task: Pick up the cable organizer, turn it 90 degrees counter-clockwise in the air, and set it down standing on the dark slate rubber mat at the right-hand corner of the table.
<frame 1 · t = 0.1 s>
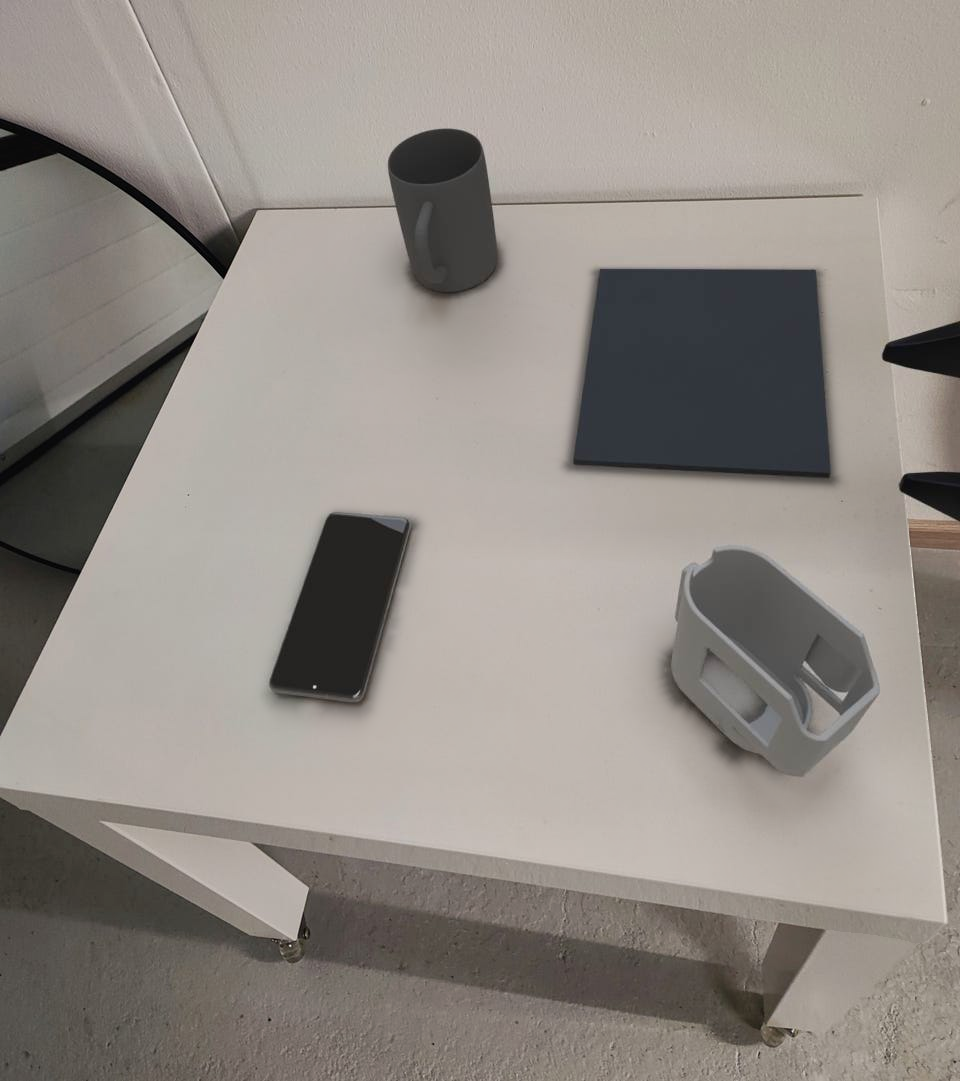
hand: (892, 413, 43), 19 cm above the table, tool horizontal, fingers open, 9 cm apart
smartphone: (346, 605, 63), on the table
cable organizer: (750, 711, 54), on the table
mug: (451, 280, 82), on the table
mat: (701, 363, 71), on the table
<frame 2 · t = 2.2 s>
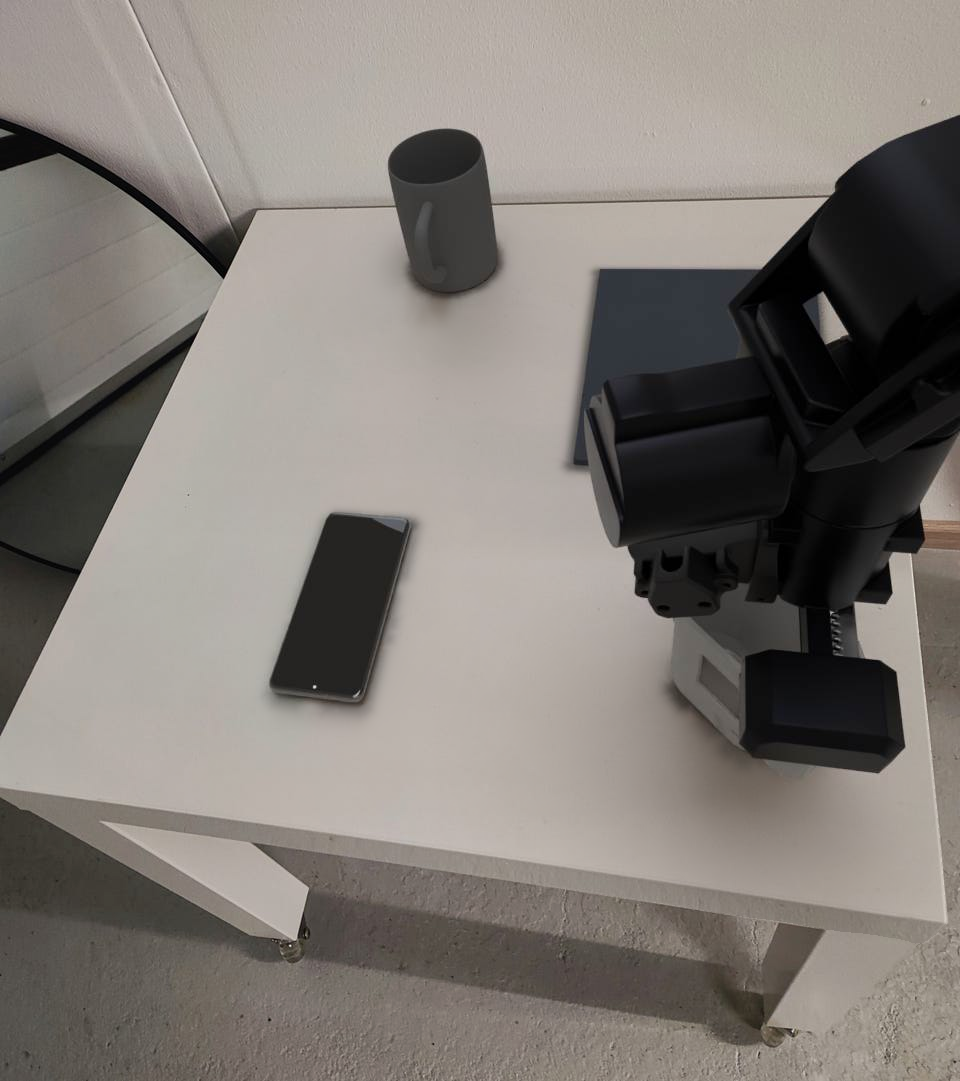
hand: (776, 646, 45), 10 cm above the table, tool pointing down, fingers open, 9 cm apart
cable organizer: (750, 710, 54), on the table, touching gripper
everything else where it was.
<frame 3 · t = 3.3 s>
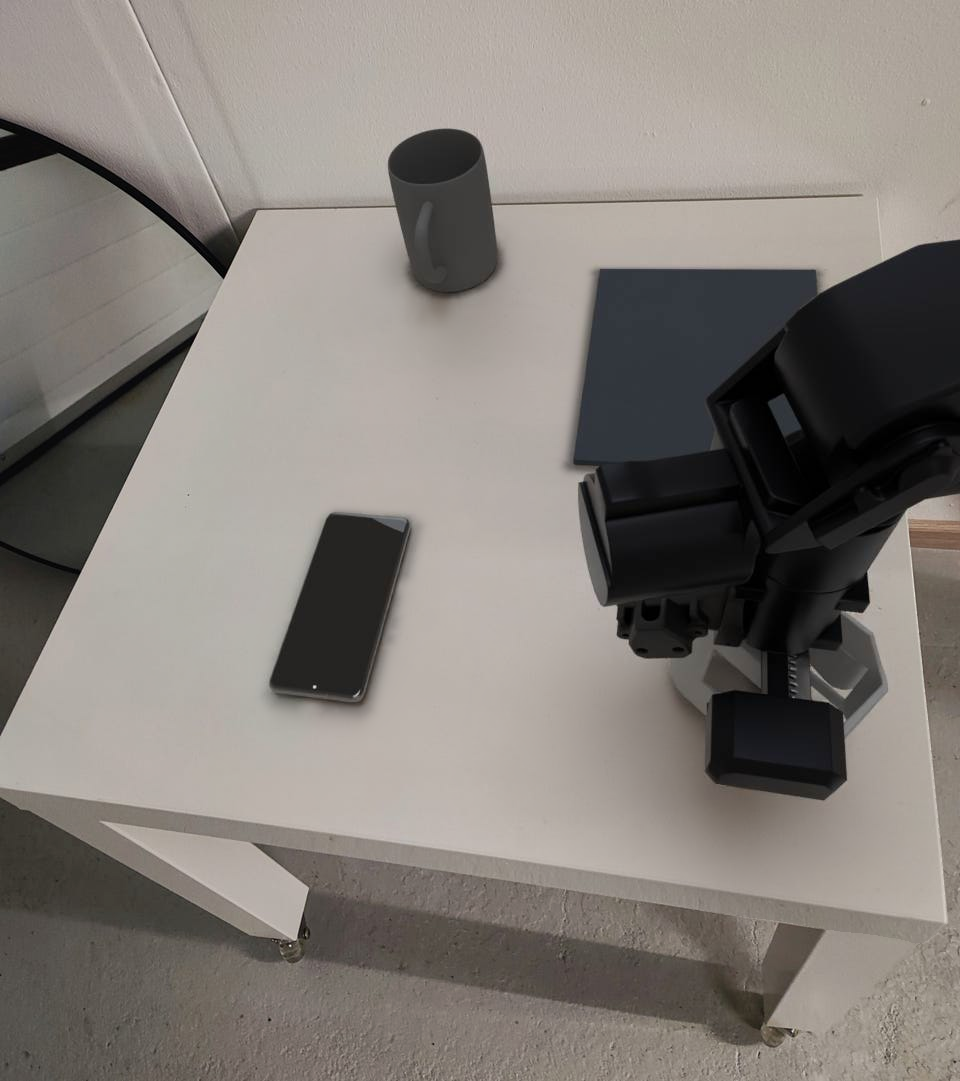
hand: (740, 675, 50), 5 cm above the table, tool pointing down, fingers closed on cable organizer, 8 cm apart
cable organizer: (749, 711, 54), on the table, touching gripper
everything else where it was.
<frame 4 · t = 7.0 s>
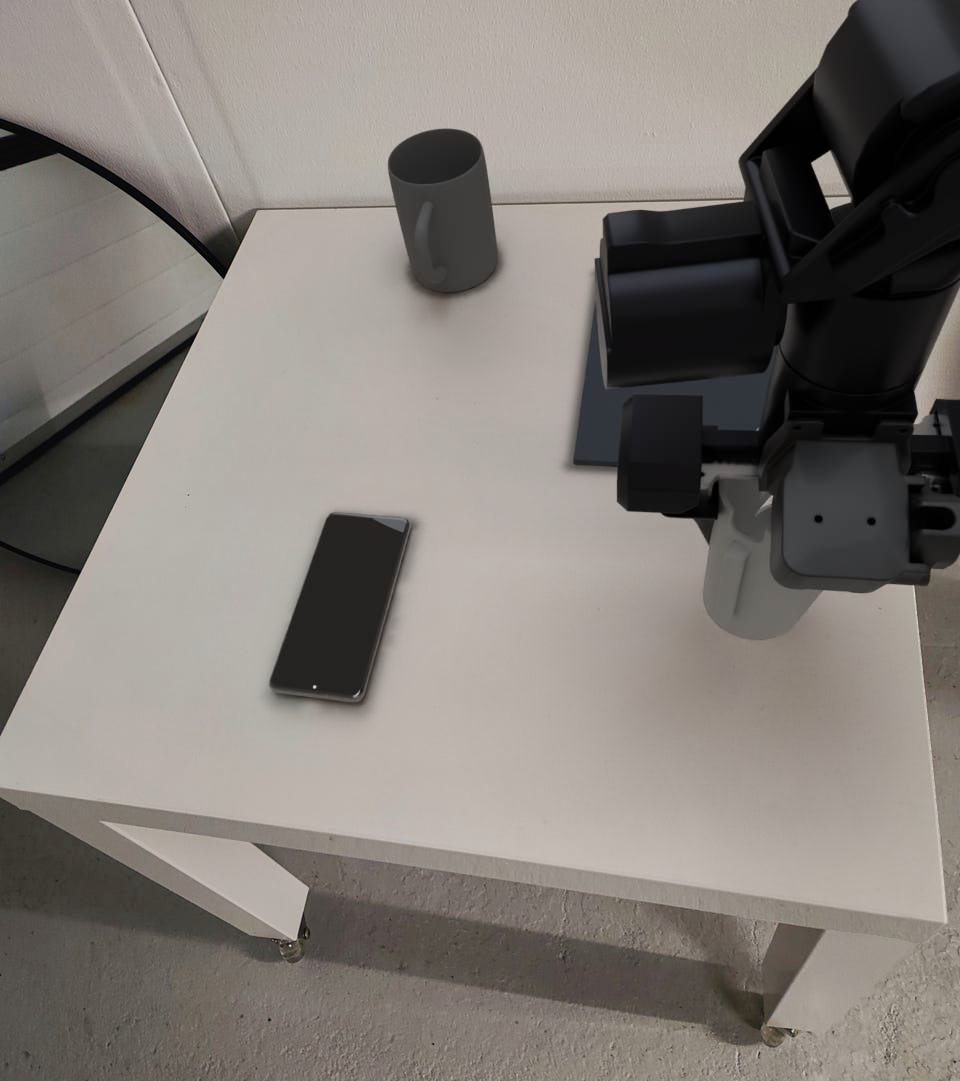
hand: (785, 548, 46), 13 cm above the table, tool pointing down, fingers closed on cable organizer, 7 cm apart
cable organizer: (780, 571, 51), point 8 cm above the table, touching gripper
everything else where it was.
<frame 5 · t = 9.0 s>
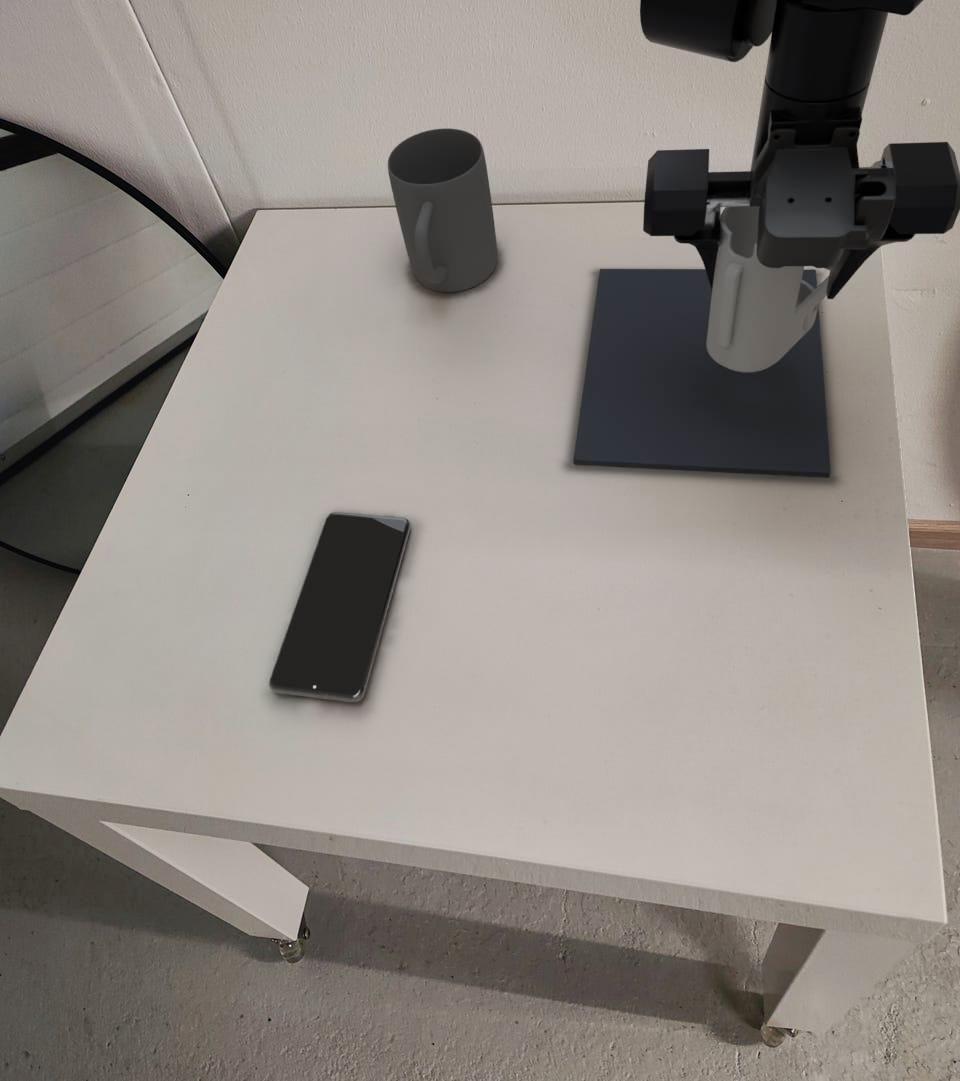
hand: (772, 295, 59), 11 cm above the table, tool pointing down, fingers closed on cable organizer, 7 cm apart
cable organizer: (768, 333, 64), point 6 cm above the table, touching gripper
everything else where it was.
when the fingers open (6 cm above the table, at t = 10.9 s): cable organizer stays where it is, resting on mat.
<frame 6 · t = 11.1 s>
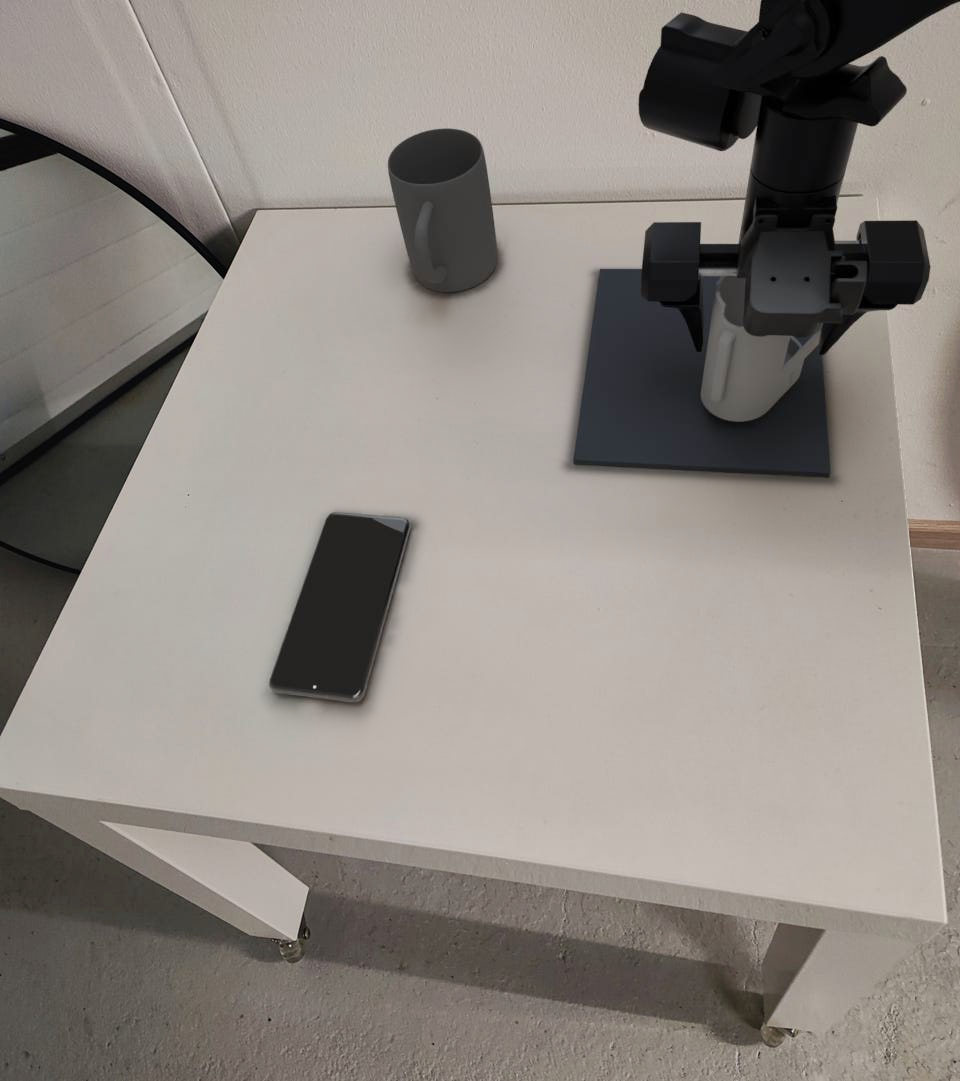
hand: (759, 349, 64), 6 cm above the table, tool pointing down, fingers open, 9 cm apart
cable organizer: (757, 382, 69), resting on mat
everything else where it was.
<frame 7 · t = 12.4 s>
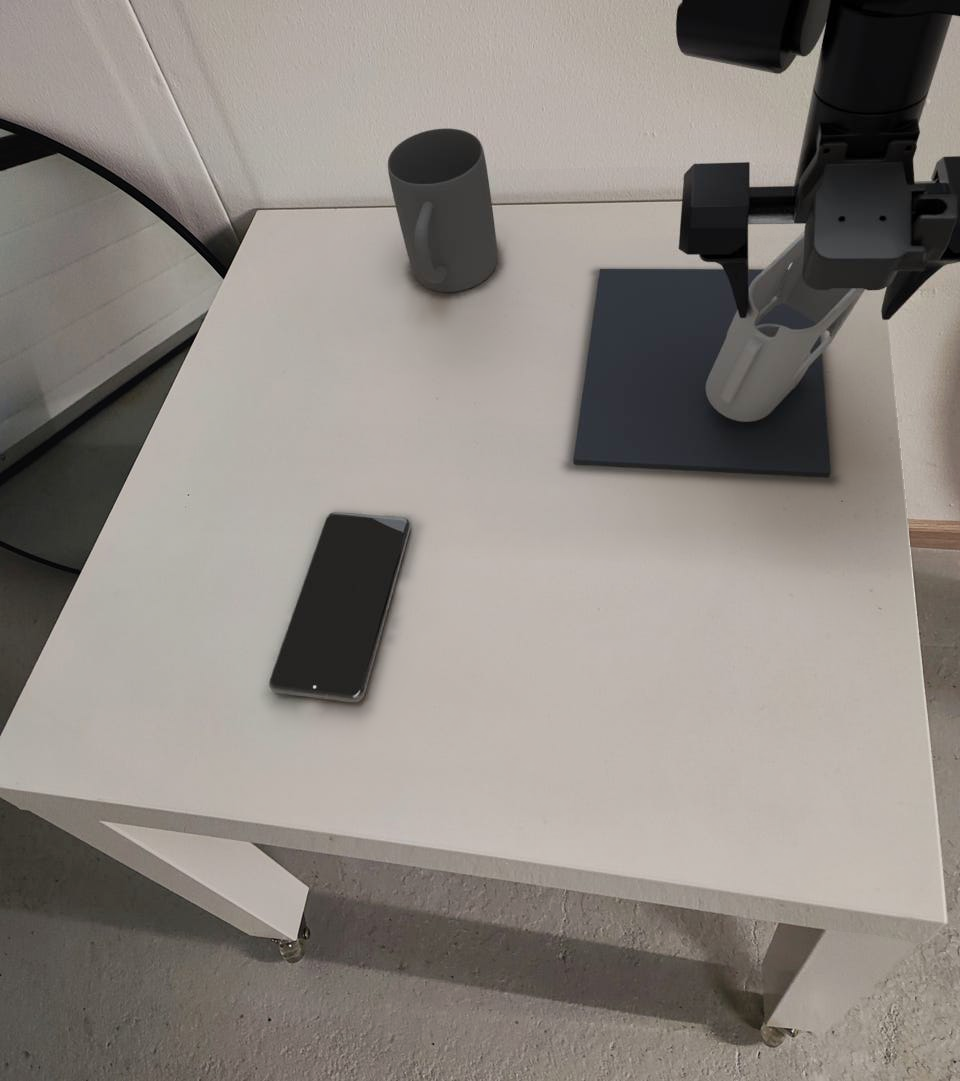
hand: (812, 315, 56), 13 cm above the table, tool pointing down, fingers open, 9 cm apart
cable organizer: (759, 377, 68), point 1 cm above the table, touching gripper, mat
everything else where it was.
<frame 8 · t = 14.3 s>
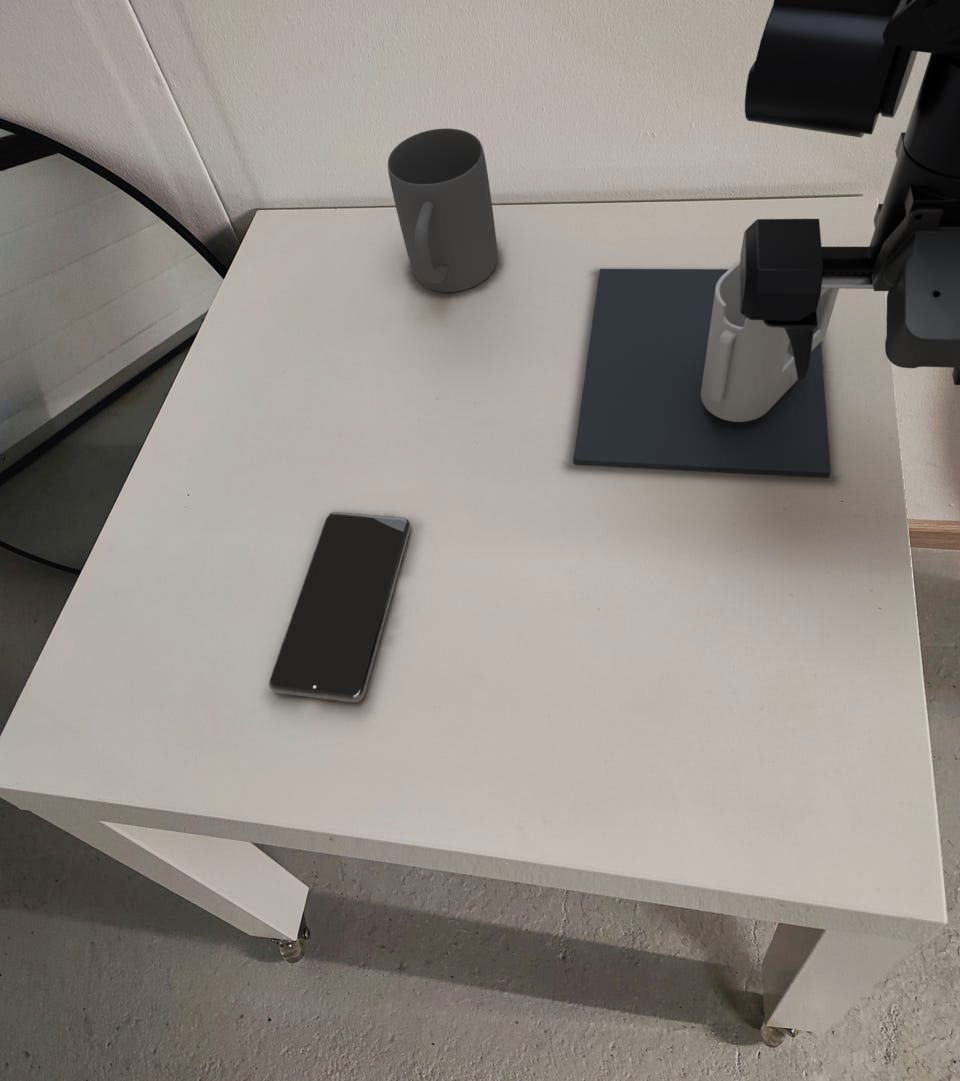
hand: (877, 377, 51), 13 cm above the table, tool pointing down, fingers open, 9 cm apart
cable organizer: (757, 382, 69), resting on mat
everything else where it was.
at the end: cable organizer inside the target area on the mat (1.7 cm from its centre), point 0.4 cm above the mat's base; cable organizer tilted 0°; the gripper is holding nothing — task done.
